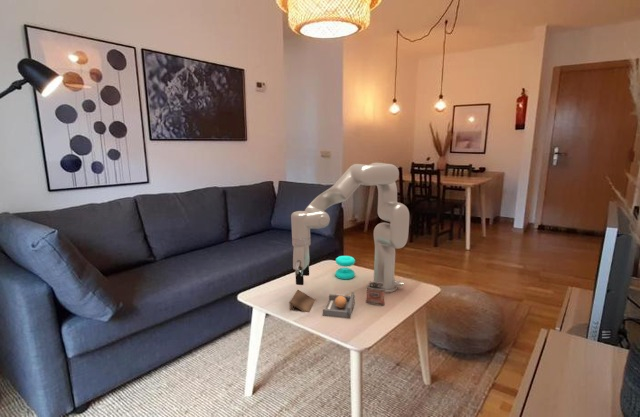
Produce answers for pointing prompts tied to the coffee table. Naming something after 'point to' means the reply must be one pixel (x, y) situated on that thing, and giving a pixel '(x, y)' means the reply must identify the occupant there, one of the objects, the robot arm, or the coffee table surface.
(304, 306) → the ramp
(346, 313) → the box
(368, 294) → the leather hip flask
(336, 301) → the ball
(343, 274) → the donuts
